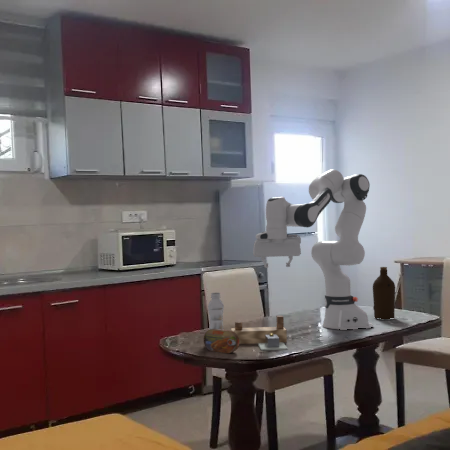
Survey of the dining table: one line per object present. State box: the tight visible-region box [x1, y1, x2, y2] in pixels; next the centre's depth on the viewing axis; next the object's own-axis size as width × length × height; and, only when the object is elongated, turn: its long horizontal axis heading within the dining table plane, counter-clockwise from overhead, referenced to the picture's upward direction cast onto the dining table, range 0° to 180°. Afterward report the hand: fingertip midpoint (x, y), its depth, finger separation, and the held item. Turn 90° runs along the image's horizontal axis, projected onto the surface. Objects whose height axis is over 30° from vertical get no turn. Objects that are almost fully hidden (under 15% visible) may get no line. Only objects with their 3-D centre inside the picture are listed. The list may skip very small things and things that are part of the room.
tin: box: [203, 329, 240, 354], centre depth 220 cm, size 15×3×8 cm, turn 56°
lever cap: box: [265, 333, 279, 348], centre depth 226 cm, size 7×4×4 cm, turn 4°
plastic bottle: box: [207, 292, 225, 330], centre depth 236 cm, size 6×7×20 cm
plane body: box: [230, 315, 288, 345], centre depth 236 cm, size 22×7×10 cm, turn 94°
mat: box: [257, 342, 288, 351], centre depth 226 cm, size 10×10×1 cm
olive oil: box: [372, 266, 396, 319], centre depth 282 cm, size 11×11×25 cm
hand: (277, 267), depth 248 cm, fingers open, 8 cm apart
